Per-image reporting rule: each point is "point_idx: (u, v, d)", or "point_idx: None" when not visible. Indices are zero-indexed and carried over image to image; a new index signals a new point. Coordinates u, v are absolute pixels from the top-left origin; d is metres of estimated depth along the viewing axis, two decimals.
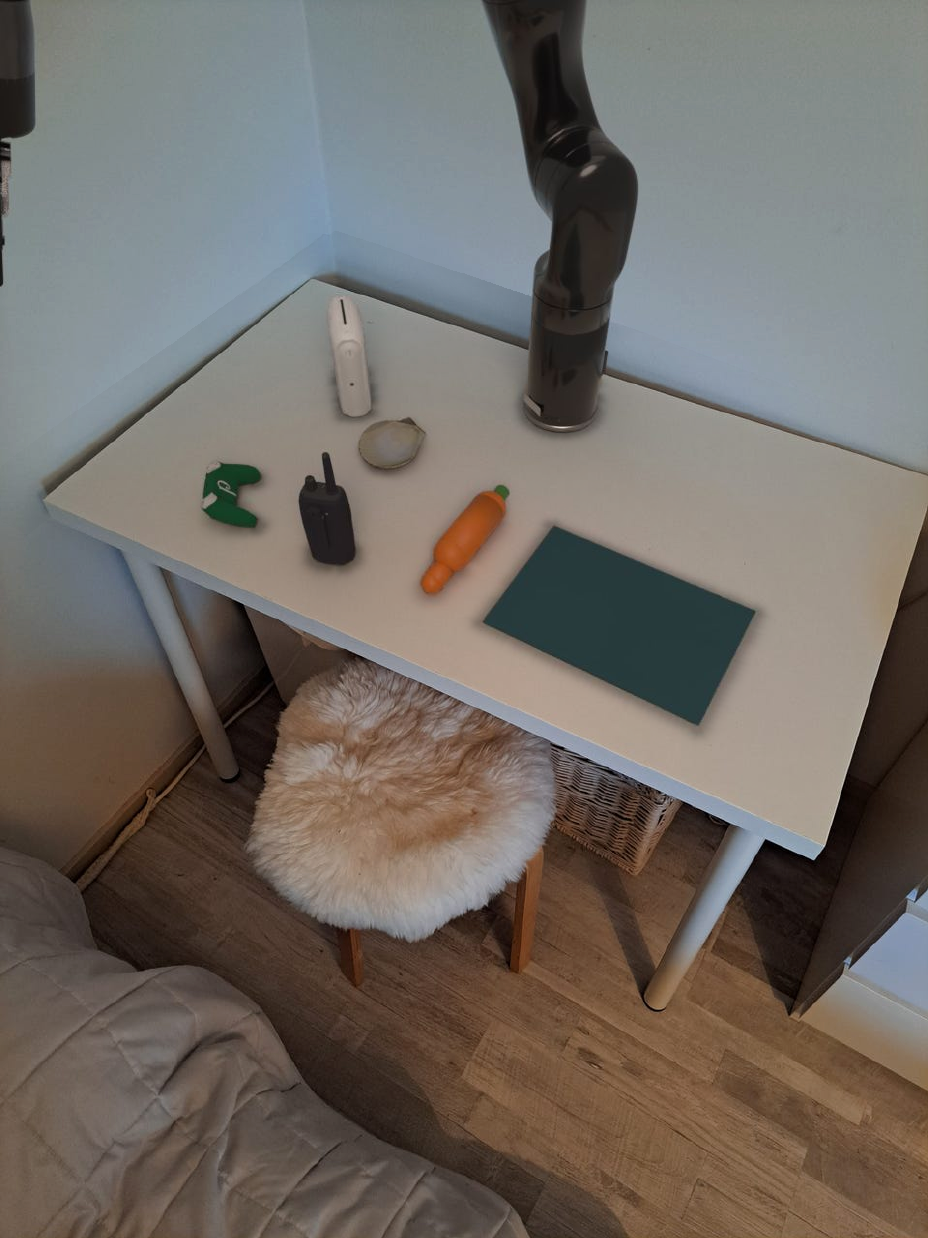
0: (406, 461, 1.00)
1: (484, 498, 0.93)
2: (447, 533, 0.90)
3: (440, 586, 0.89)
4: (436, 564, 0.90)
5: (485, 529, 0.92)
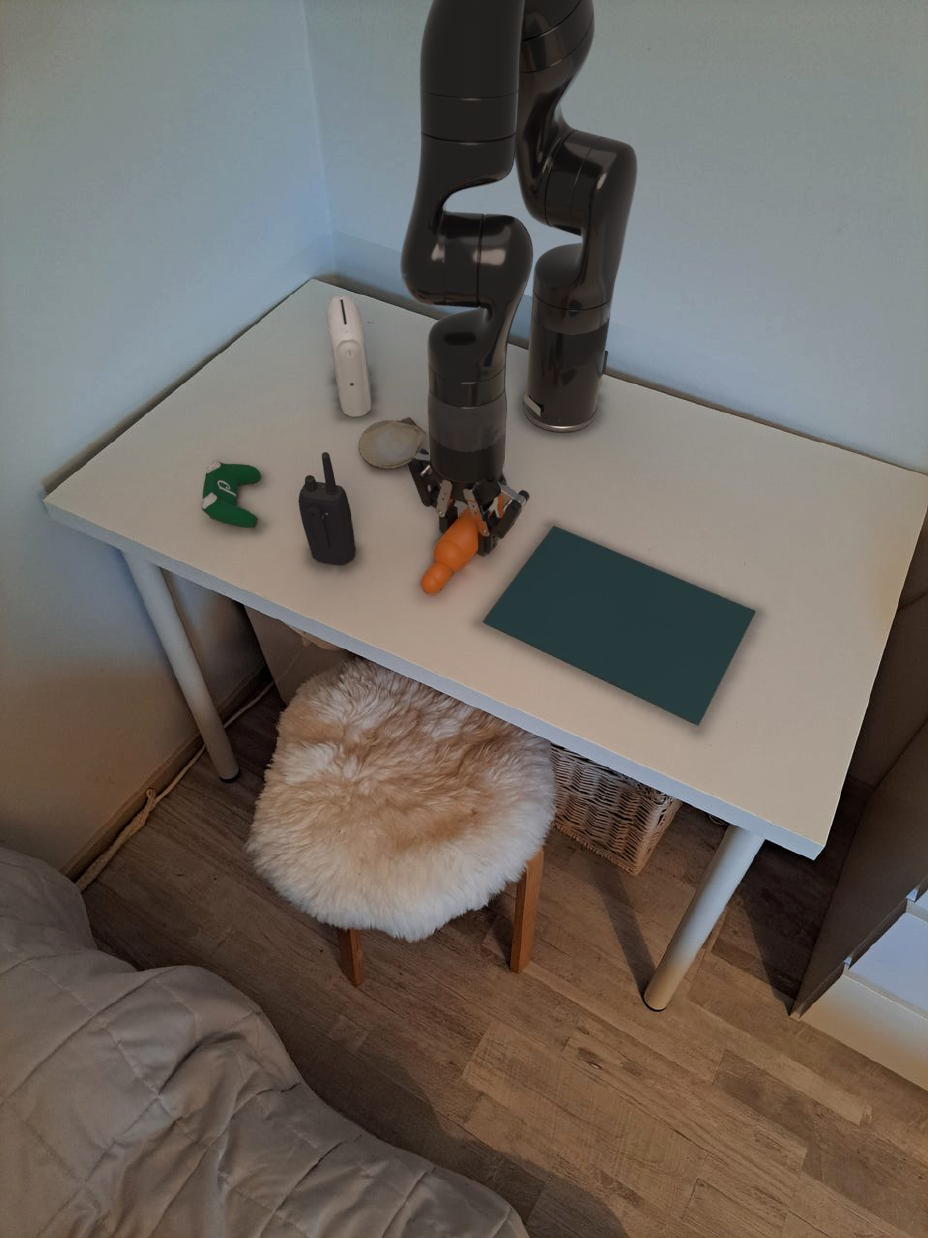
0: (406, 461, 1.00)
1: None
2: (447, 533, 0.90)
3: (440, 586, 0.89)
4: (436, 564, 0.90)
5: None
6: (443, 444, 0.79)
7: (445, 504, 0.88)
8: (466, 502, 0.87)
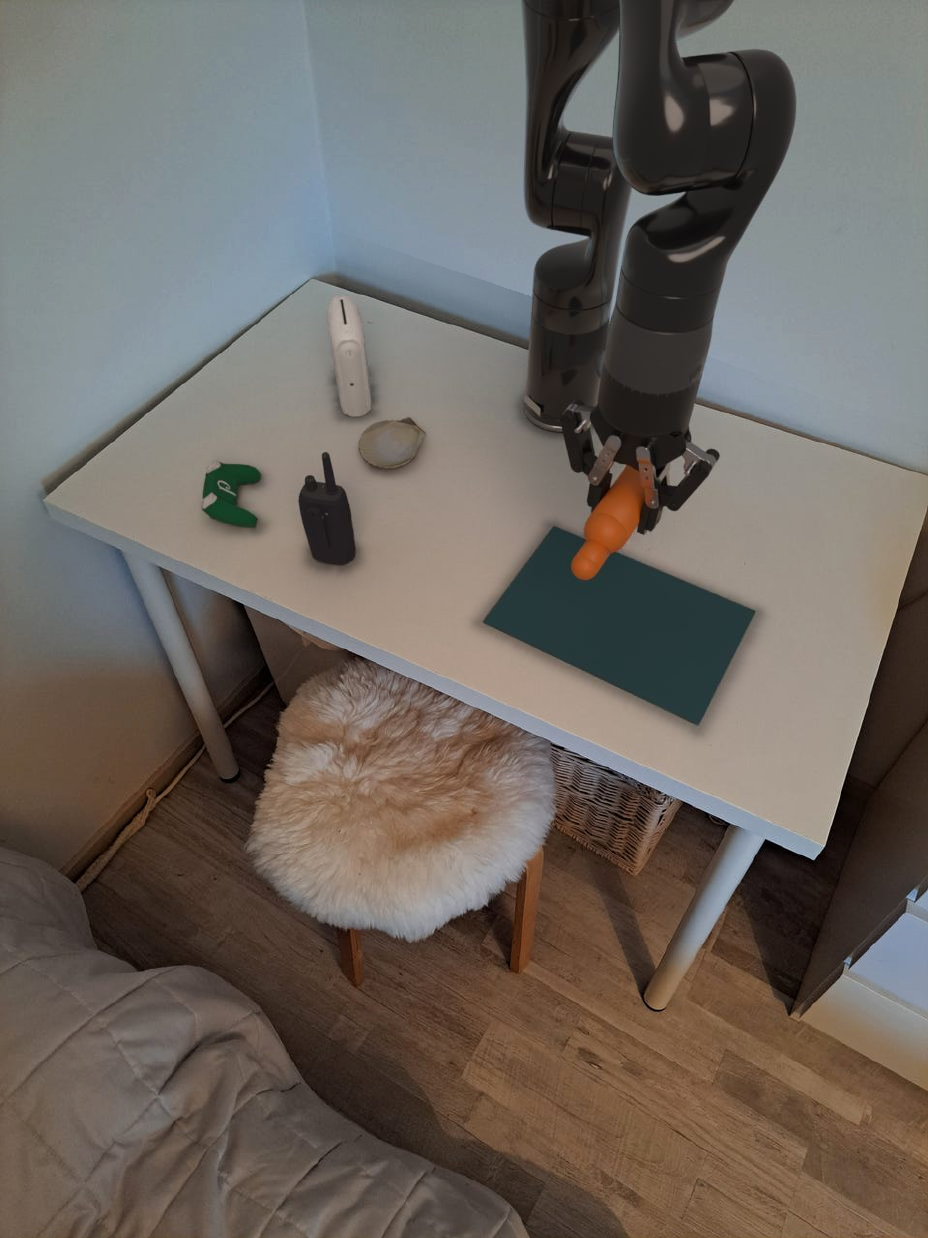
0: (406, 461, 1.00)
1: None
2: (603, 506, 0.73)
3: (596, 570, 0.72)
4: (590, 543, 0.72)
5: None
6: (628, 385, 0.61)
7: (605, 468, 0.71)
8: (634, 465, 0.70)
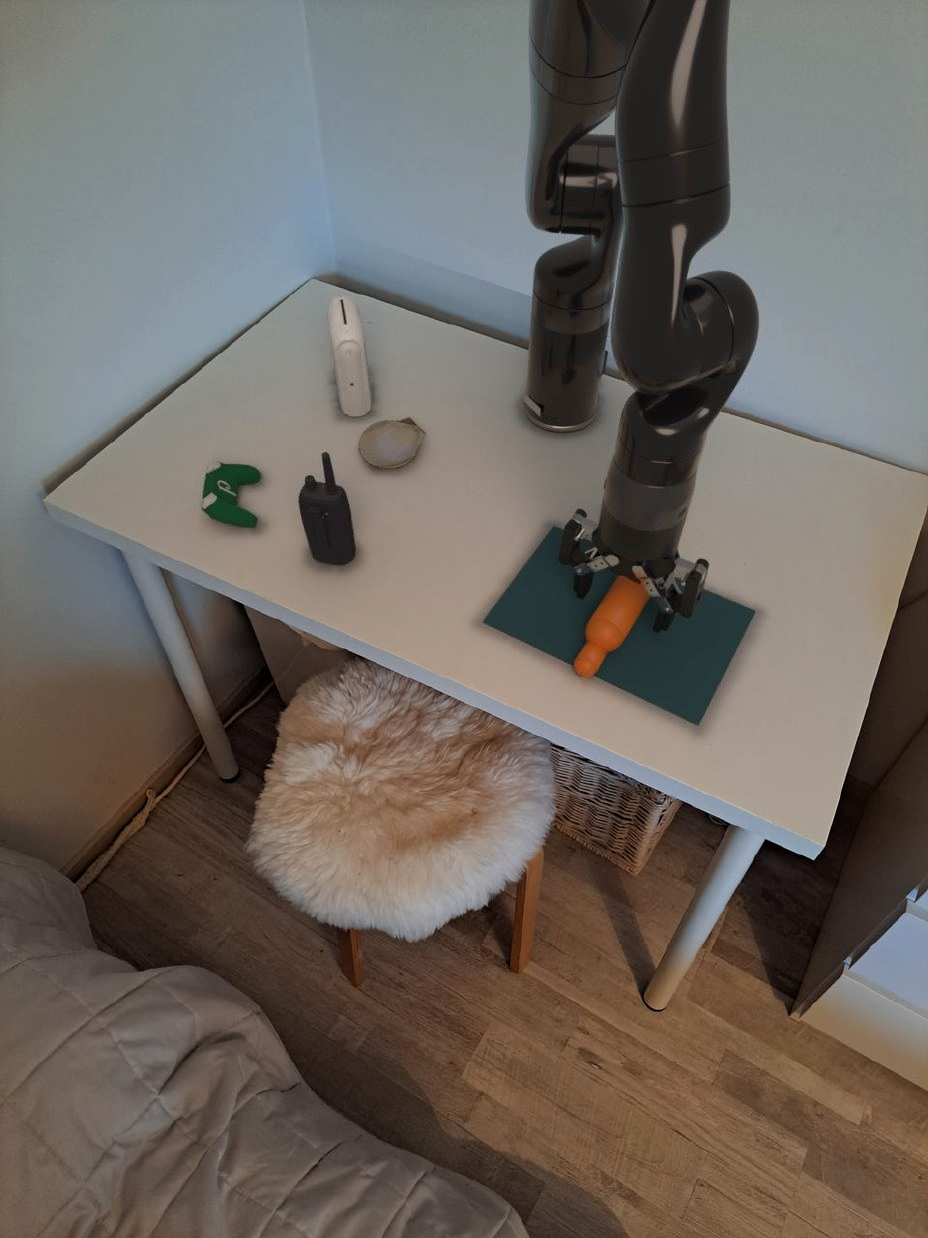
0: (406, 461, 1.00)
1: None
2: (602, 611, 0.83)
3: (596, 669, 0.82)
4: (591, 645, 0.83)
5: (640, 605, 0.85)
6: (625, 523, 0.72)
7: (594, 571, 0.81)
8: (630, 577, 0.80)
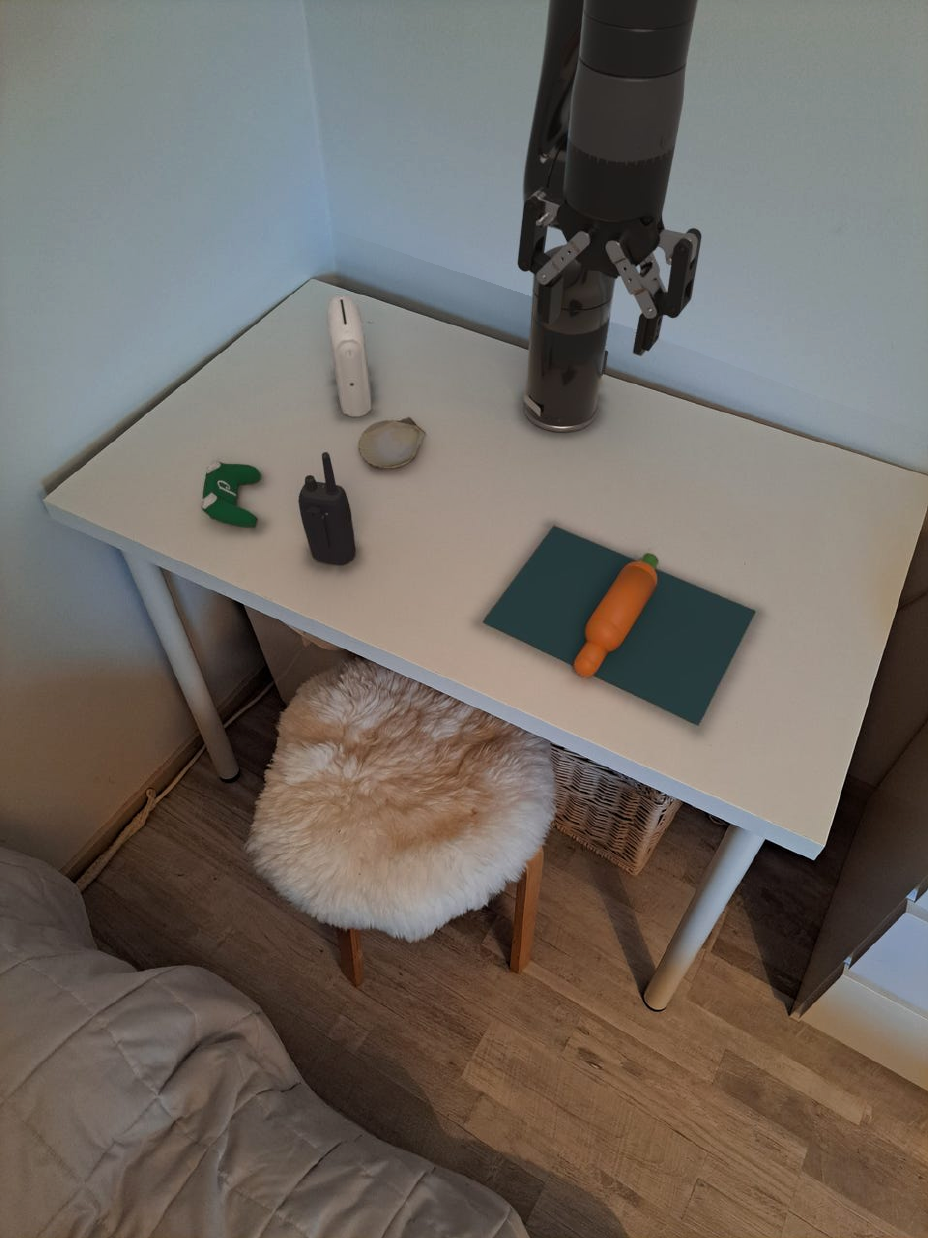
0: (406, 461, 1.00)
1: (636, 570, 0.86)
2: (602, 611, 0.84)
3: (596, 669, 0.82)
4: (591, 645, 0.83)
5: (640, 605, 0.85)
6: (593, 153, 0.56)
7: (561, 267, 0.66)
8: (604, 269, 0.65)
